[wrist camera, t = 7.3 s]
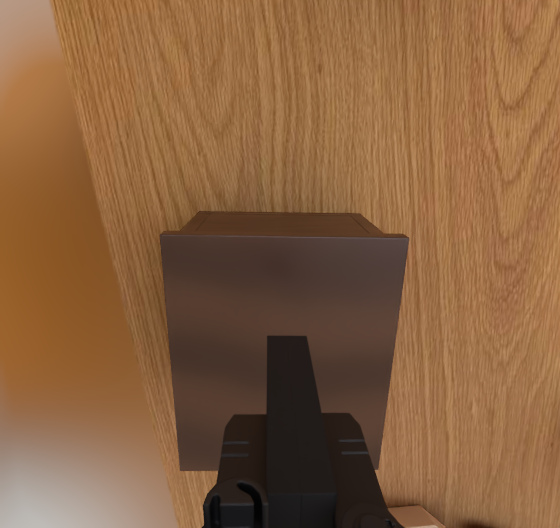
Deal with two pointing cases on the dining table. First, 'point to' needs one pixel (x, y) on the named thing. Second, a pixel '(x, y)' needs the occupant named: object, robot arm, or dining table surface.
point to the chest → (280, 222)
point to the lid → (278, 325)
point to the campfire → (415, 517)
